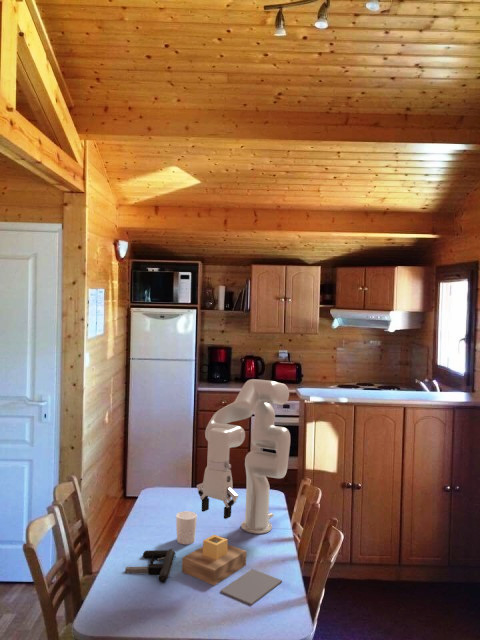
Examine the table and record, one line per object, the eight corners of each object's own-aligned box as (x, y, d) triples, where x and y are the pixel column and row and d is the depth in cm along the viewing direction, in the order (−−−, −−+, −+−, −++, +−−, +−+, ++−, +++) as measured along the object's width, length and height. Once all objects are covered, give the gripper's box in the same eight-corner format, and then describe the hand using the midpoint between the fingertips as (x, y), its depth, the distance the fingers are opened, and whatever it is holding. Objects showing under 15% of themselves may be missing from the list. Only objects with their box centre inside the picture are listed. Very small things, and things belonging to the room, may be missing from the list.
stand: (214, 553, 198) (215, 527, 198) (245, 565, 190) (246, 538, 190) (181, 571, 183) (182, 544, 183) (214, 585, 175) (215, 556, 175)
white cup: (192, 546, 203) (193, 520, 203) (172, 544, 204) (173, 517, 204) (198, 537, 211) (199, 512, 210) (179, 535, 212) (180, 510, 212)
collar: (213, 548, 191) (214, 534, 190) (227, 553, 187) (227, 539, 187) (202, 554, 186) (203, 540, 186) (216, 559, 182) (216, 545, 182)
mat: (252, 570, 186) (252, 569, 186) (281, 582, 179) (282, 580, 179) (220, 592, 171) (220, 590, 171) (251, 605, 164) (251, 603, 164)
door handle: (121, 575, 175) (170, 574, 175) (134, 548, 195) (178, 547, 195) (121, 585, 176) (170, 584, 175) (134, 557, 196) (178, 556, 195)
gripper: (244, 467, 184) (242, 517, 184) (205, 457, 194) (203, 505, 194) (231, 472, 177) (229, 523, 178) (191, 462, 188) (189, 510, 188)
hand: (216, 514), depth 186 cm, fingers open, 9 cm apart
